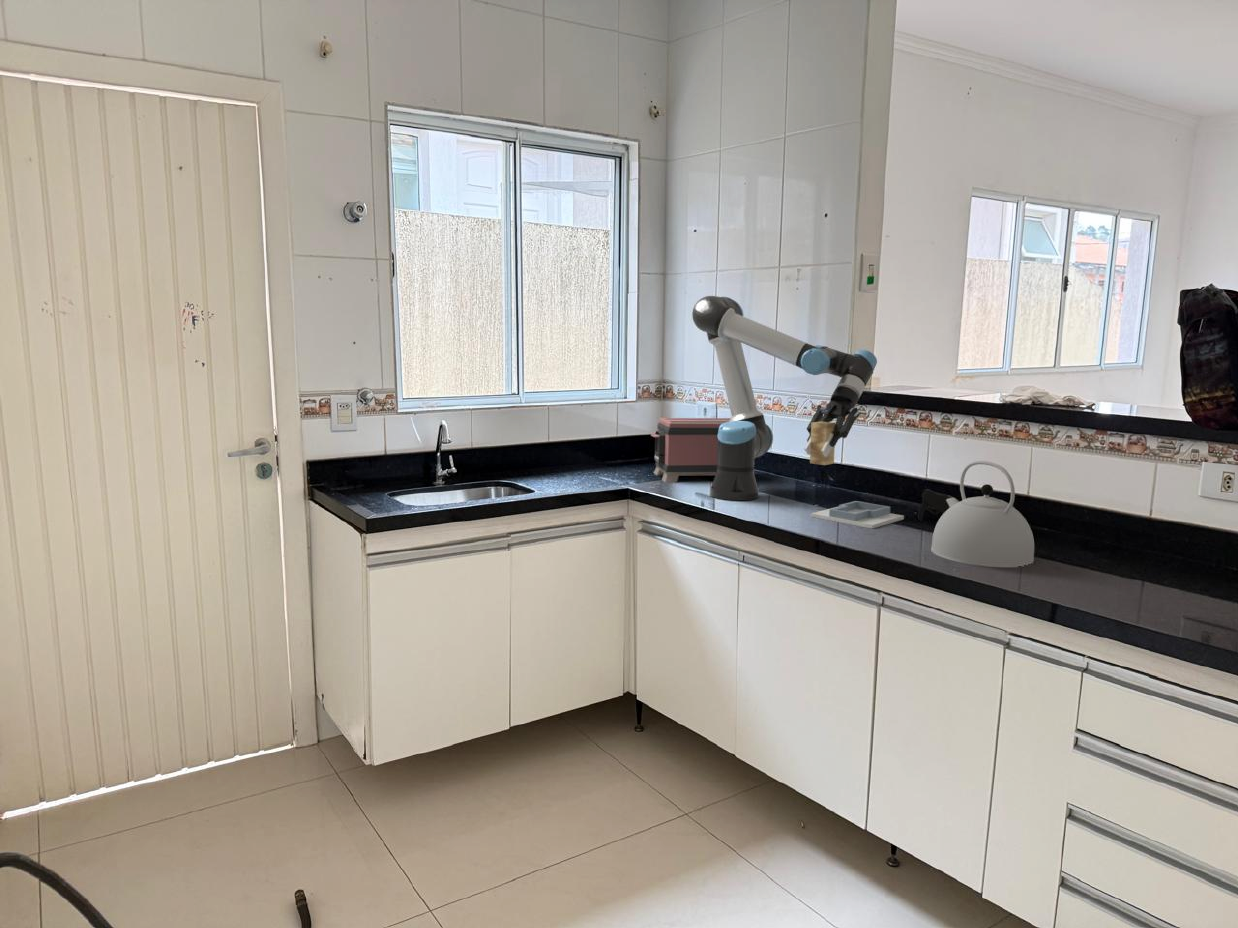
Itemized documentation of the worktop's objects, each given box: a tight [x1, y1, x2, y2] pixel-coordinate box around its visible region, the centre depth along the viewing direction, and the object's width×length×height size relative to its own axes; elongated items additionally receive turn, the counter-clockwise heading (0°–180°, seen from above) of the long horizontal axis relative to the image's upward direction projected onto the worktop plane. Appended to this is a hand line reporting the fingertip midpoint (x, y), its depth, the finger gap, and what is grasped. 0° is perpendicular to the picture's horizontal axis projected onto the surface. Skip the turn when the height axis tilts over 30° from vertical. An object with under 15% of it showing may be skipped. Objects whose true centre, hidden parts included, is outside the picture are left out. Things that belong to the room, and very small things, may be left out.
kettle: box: [930, 460, 1035, 568], centre depth 201 cm, size 25×23×22 cm
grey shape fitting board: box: [810, 500, 905, 529], centre depth 239 cm, size 19×18×3 cm
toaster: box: [650, 417, 731, 483], centre depth 301 cm, size 19×34×21 cm, turn 100°
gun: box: [917, 488, 960, 522], centre depth 236 cm, size 3×16×10 cm, turn 79°
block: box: [809, 421, 836, 466], centre depth 247 cm, size 5×5×12 cm
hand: (815, 452), depth 245 cm, fingers closed on block, 5 cm apart
